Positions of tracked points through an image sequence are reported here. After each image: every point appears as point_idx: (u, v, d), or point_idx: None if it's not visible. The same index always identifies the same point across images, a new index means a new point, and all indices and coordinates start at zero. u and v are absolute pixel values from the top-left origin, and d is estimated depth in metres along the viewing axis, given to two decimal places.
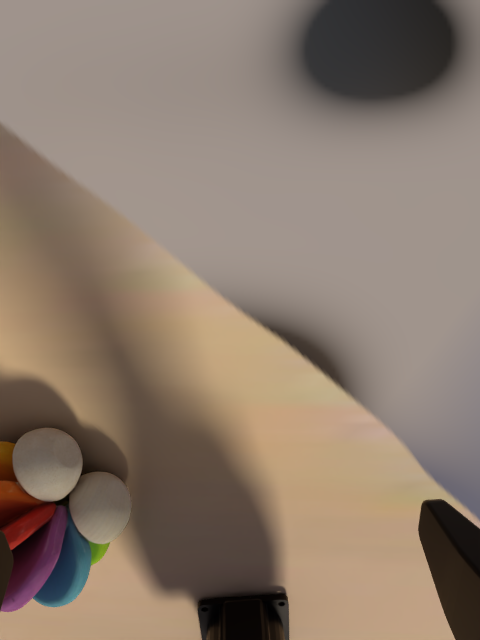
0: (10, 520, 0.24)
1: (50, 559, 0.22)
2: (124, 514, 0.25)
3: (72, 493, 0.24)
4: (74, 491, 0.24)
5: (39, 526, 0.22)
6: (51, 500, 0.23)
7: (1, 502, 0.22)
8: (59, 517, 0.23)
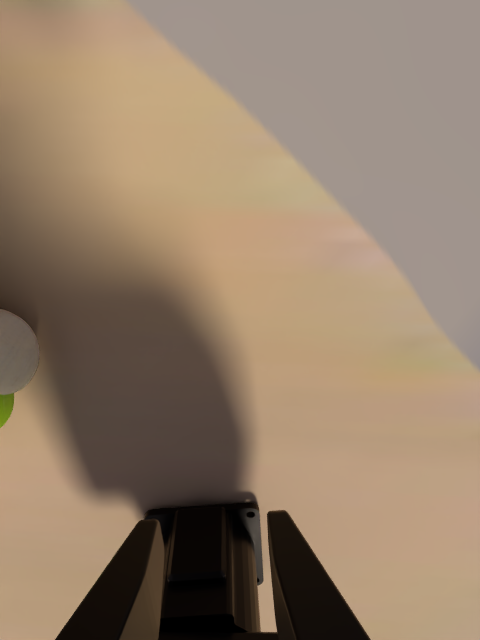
0: None
1: None
2: (23, 356, 0.18)
3: None
4: None
5: None
6: None
7: None
8: None
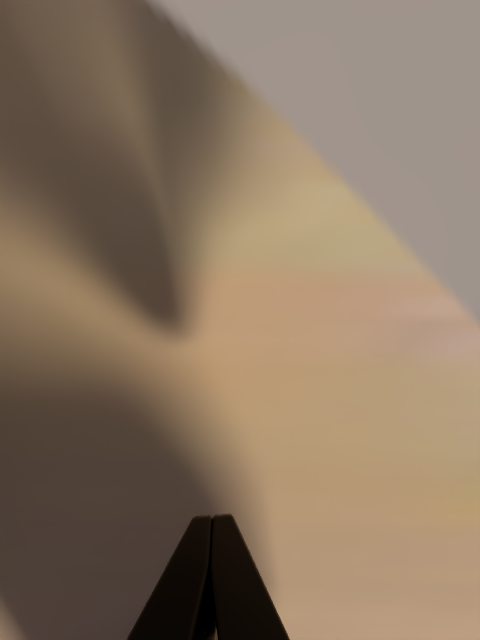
0: None
1: None
2: None
3: None
4: None
5: None
6: None
7: None
8: None
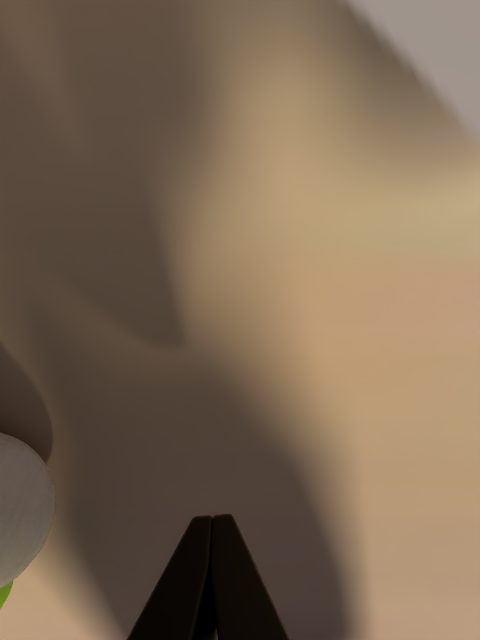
0: None
1: None
2: (28, 527, 0.11)
3: None
4: None
5: None
6: None
7: None
8: None
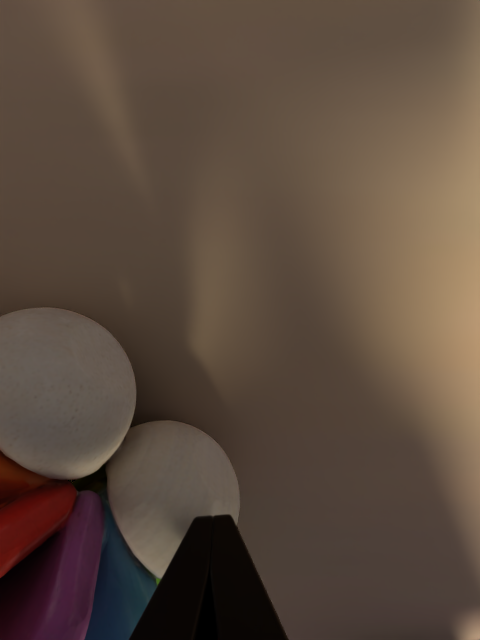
0: None
1: None
2: (234, 514, 0.11)
3: (114, 463, 0.10)
4: (118, 458, 0.10)
5: (34, 544, 0.08)
6: (64, 474, 0.09)
7: None
8: (84, 521, 0.09)
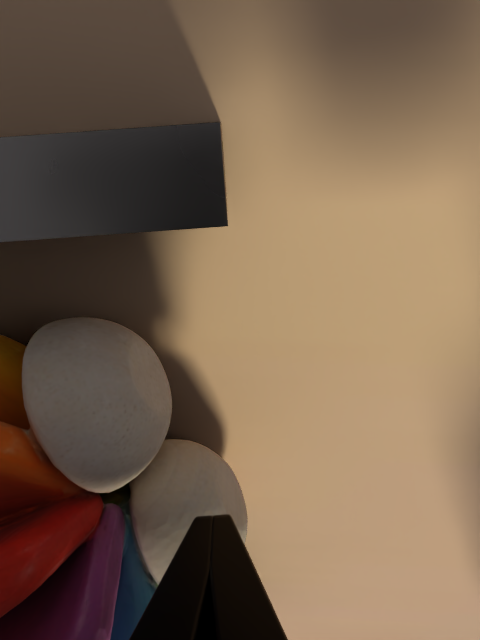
0: None
1: None
2: None
3: (139, 479, 0.10)
4: (144, 474, 0.11)
5: (68, 555, 0.08)
6: (102, 488, 0.09)
7: None
8: (110, 534, 0.09)
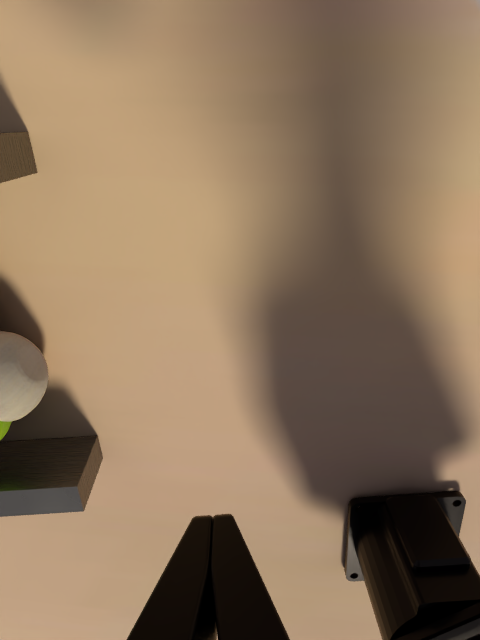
0: None
1: None
2: (35, 389, 0.19)
3: None
4: None
5: None
6: None
7: None
8: None
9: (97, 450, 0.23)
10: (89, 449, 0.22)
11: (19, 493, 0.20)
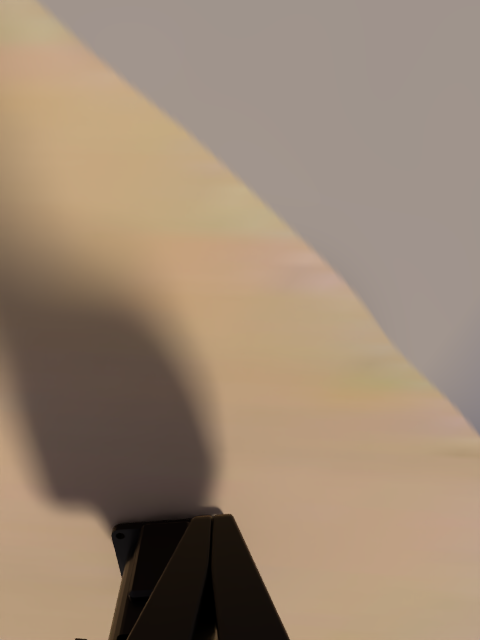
0: None
1: None
2: None
3: None
4: None
5: None
6: None
7: None
8: None
9: None
10: None
11: None
